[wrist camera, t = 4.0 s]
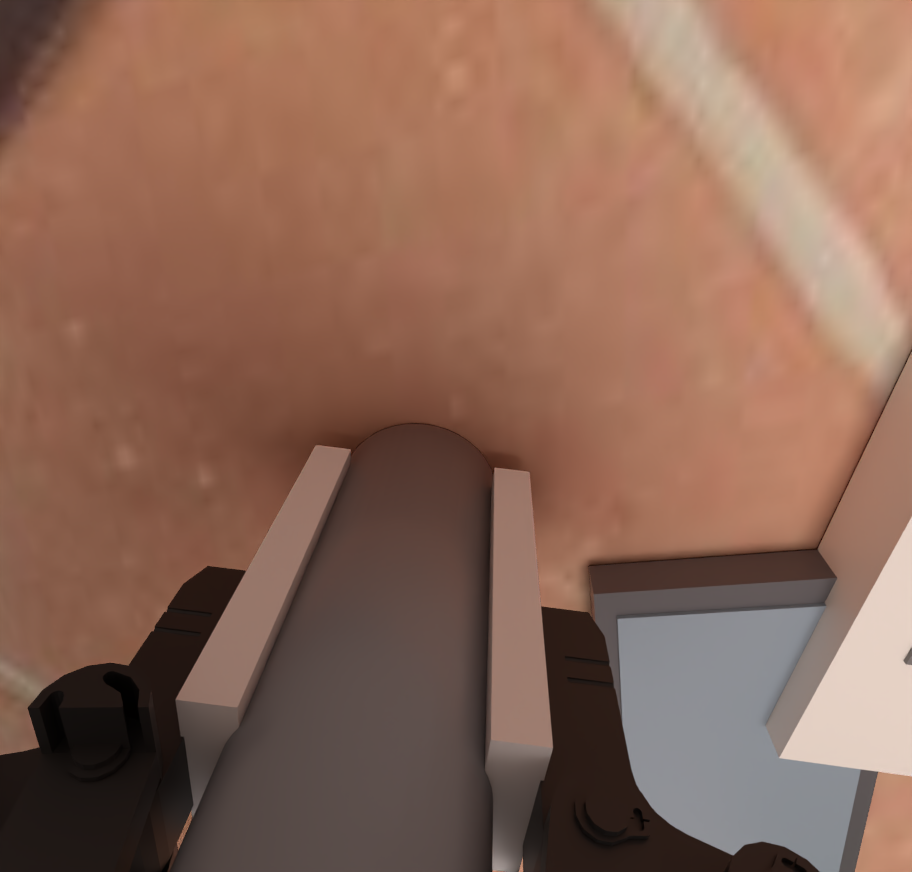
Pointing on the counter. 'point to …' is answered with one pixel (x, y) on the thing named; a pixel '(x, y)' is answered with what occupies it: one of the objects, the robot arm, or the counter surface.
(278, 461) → the counter surface
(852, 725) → the outlet
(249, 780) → the plug
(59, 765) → the robot arm
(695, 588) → the phone
